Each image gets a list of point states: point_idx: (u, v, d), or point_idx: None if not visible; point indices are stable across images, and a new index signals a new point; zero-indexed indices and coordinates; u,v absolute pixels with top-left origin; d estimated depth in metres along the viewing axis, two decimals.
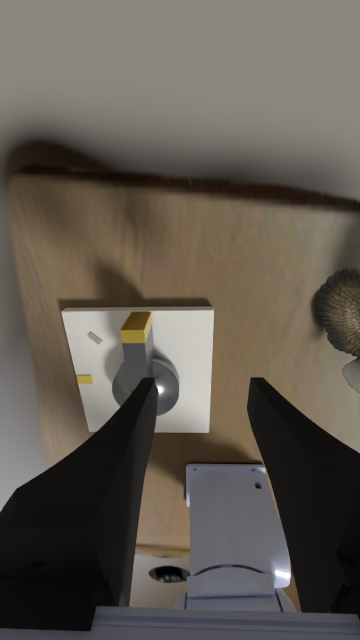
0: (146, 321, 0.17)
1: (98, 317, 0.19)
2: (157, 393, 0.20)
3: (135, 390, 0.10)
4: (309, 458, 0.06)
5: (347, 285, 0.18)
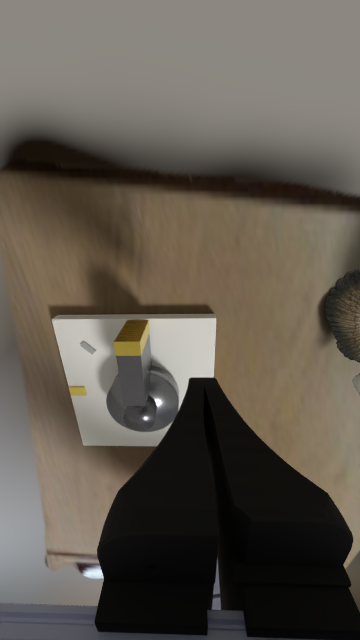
0: (142, 331, 0.15)
1: (91, 325, 0.18)
2: (155, 407, 0.18)
3: (189, 390, 0.10)
4: (222, 457, 0.06)
5: (358, 289, 0.17)
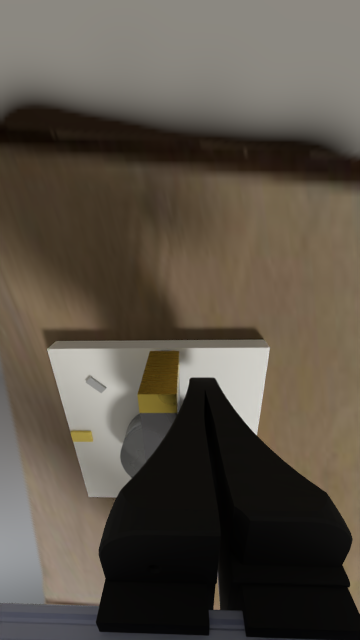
0: (176, 372, 0.11)
1: (101, 356, 0.13)
2: None
3: (190, 390, 0.10)
4: (221, 457, 0.06)
5: None
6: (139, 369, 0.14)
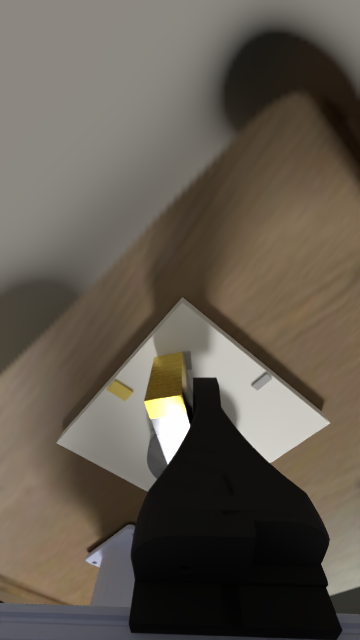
0: (180, 373, 0.11)
1: (217, 343, 0.13)
2: None
3: (204, 390, 0.10)
4: (205, 457, 0.06)
5: None
6: (233, 374, 0.14)
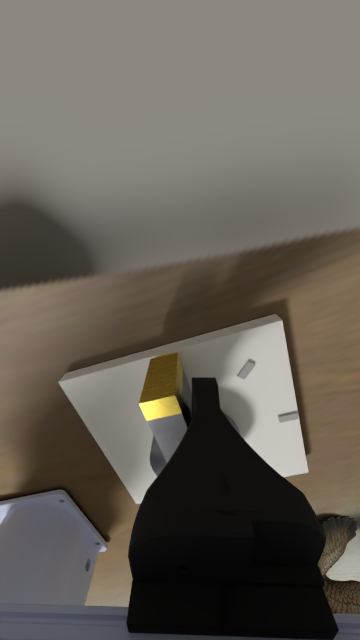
0: (175, 374, 0.11)
1: (280, 368, 0.14)
2: None
3: (203, 390, 0.10)
4: (203, 457, 0.06)
5: (346, 533, 0.21)
6: (271, 400, 0.14)
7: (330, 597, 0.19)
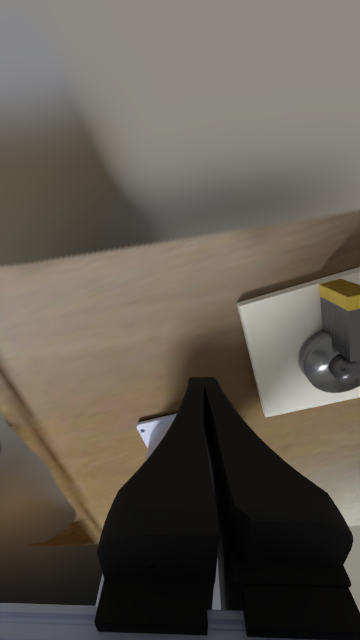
0: (357, 285, 0.16)
1: None
2: None
3: (189, 390, 0.10)
4: (222, 457, 0.06)
5: None
6: None
7: None
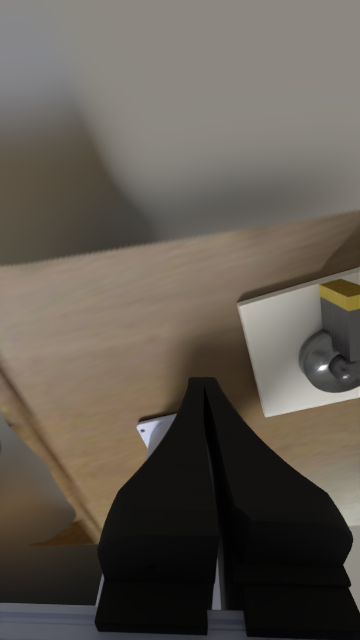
0: (357, 285, 0.16)
1: None
2: None
3: (189, 390, 0.10)
4: (222, 457, 0.06)
5: None
6: None
7: None
